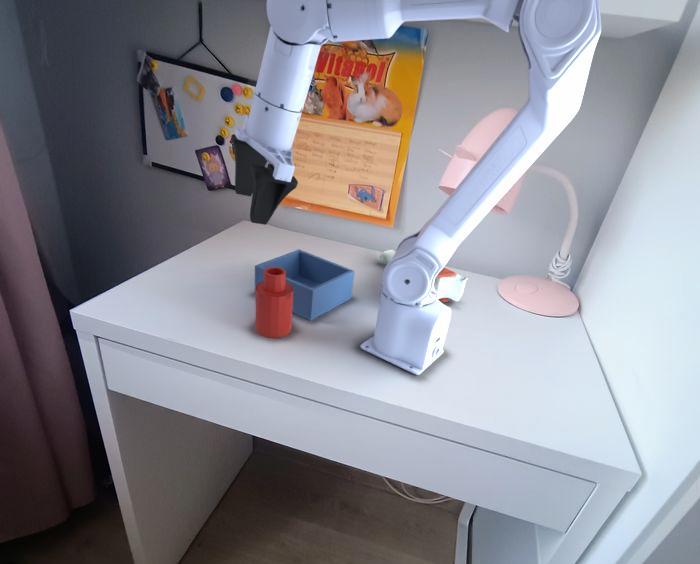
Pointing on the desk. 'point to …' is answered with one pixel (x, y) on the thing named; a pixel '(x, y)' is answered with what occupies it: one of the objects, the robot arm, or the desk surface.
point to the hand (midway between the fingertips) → (250, 207)
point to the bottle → (273, 304)
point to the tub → (311, 282)
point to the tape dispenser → (439, 280)
